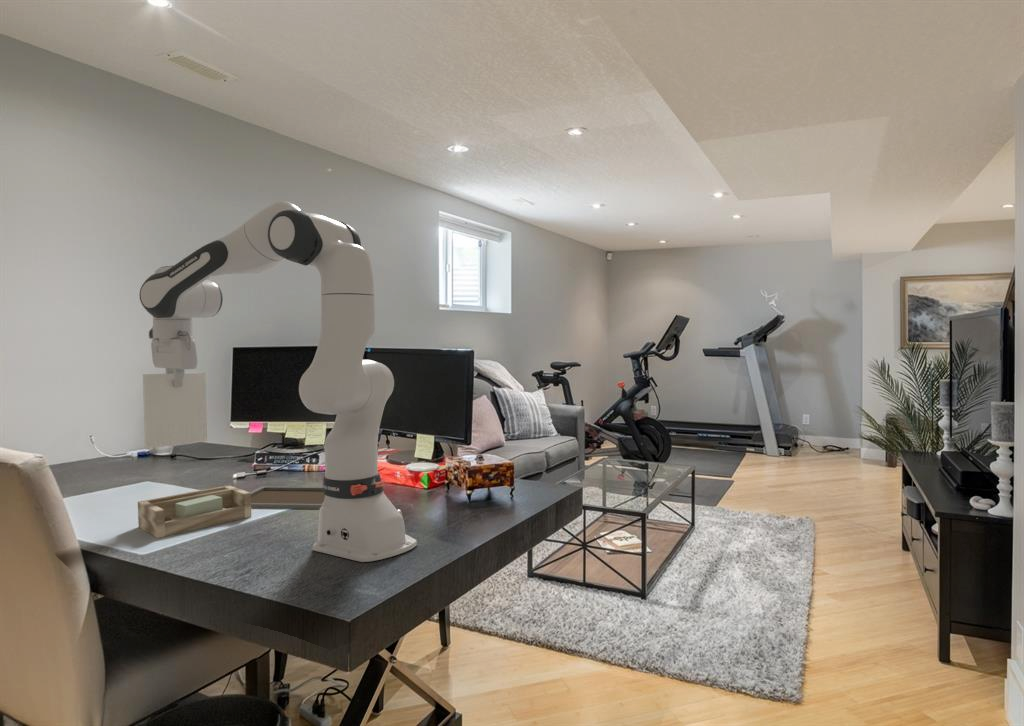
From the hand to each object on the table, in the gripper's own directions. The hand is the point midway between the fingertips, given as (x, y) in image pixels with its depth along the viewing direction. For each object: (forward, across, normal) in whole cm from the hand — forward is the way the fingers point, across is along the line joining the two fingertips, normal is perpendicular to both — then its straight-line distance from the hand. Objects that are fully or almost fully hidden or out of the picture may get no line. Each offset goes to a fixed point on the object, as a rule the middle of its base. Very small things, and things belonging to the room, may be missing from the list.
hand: (175, 386), depth 154 cm
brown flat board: (+33, -7, -25) cm, 42 cm away
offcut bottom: (+33, -12, 0) cm, 35 cm away
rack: (+32, -11, 0) cm, 34 cm away
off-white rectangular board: (+15, 0, 0) cm, 15 cm away
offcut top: (+30, -13, 0) cm, 32 cm away
